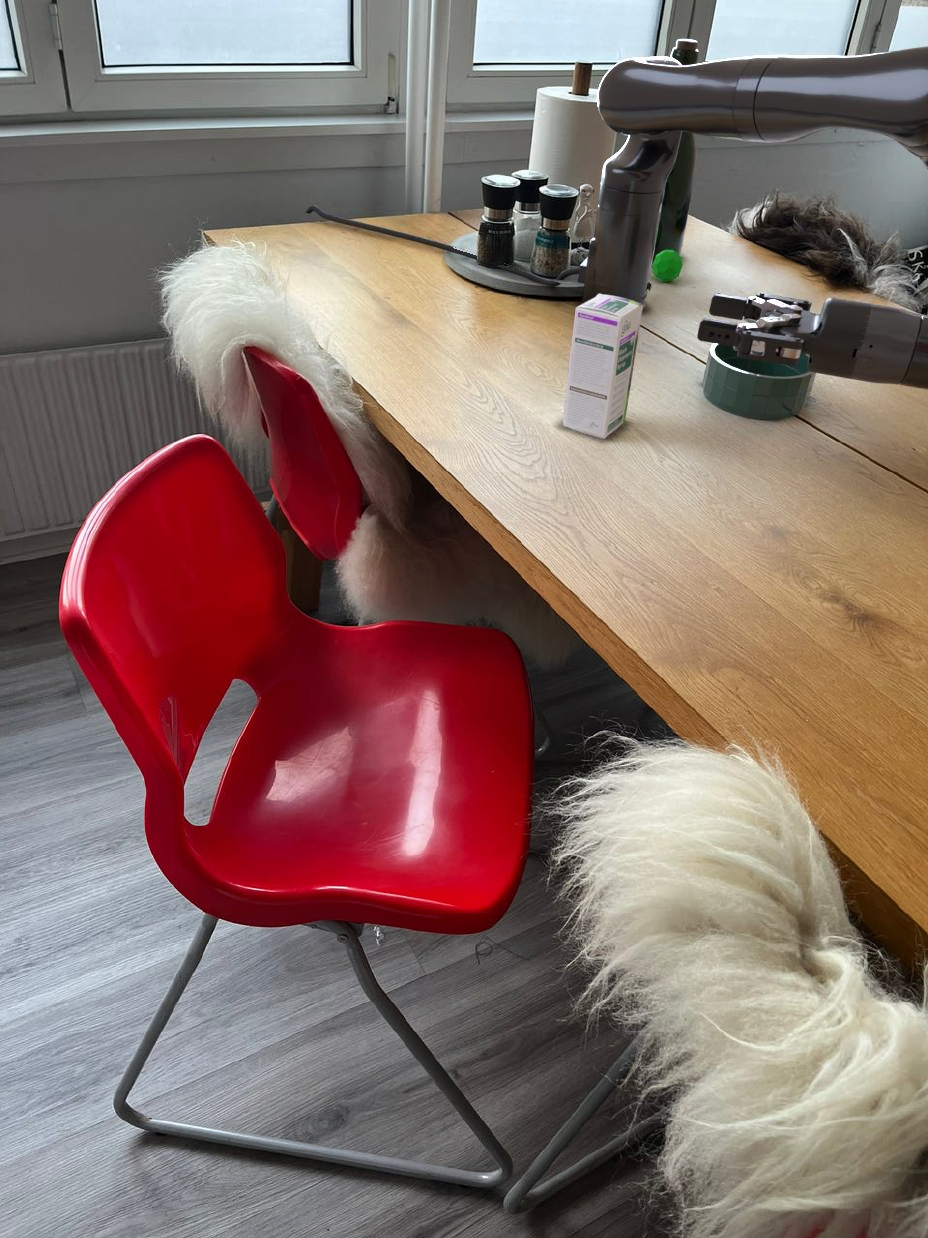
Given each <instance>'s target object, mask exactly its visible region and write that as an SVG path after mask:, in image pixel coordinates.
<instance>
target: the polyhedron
mask: <svg viewBox="0 0 928 1238" xmlns="http://www.w3.org/2000/svg"><path fill="white" fill-rule="evenodd" d="M683 266H684V262H683V257H682V256H681V254H680V255H679V254H678V253H676V252H675V251H673V250H664V251H662V252H660V253H659V254H657V255H656V257H655V260H654V261H653V262H652V267H651V271H652V274H653V276H654V277H656V278H657V279H658V280H659V281H660V282H663V283H670V282H673V281H675V280H676V279H678V278H679V277H680V274H681V272H682V270H683Z"/></svg>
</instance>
